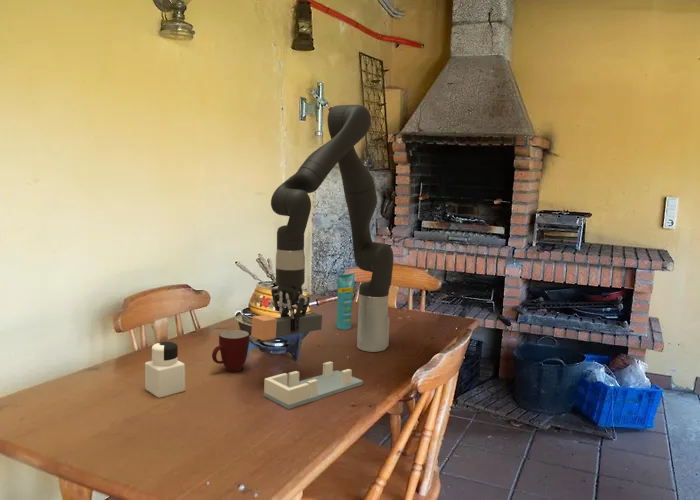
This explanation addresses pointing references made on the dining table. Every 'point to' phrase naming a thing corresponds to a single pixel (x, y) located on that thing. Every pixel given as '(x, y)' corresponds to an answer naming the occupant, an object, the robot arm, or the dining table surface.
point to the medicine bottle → (164, 370)
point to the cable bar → (283, 325)
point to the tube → (345, 300)
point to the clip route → (308, 386)
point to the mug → (232, 349)
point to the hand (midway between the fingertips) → (289, 329)
